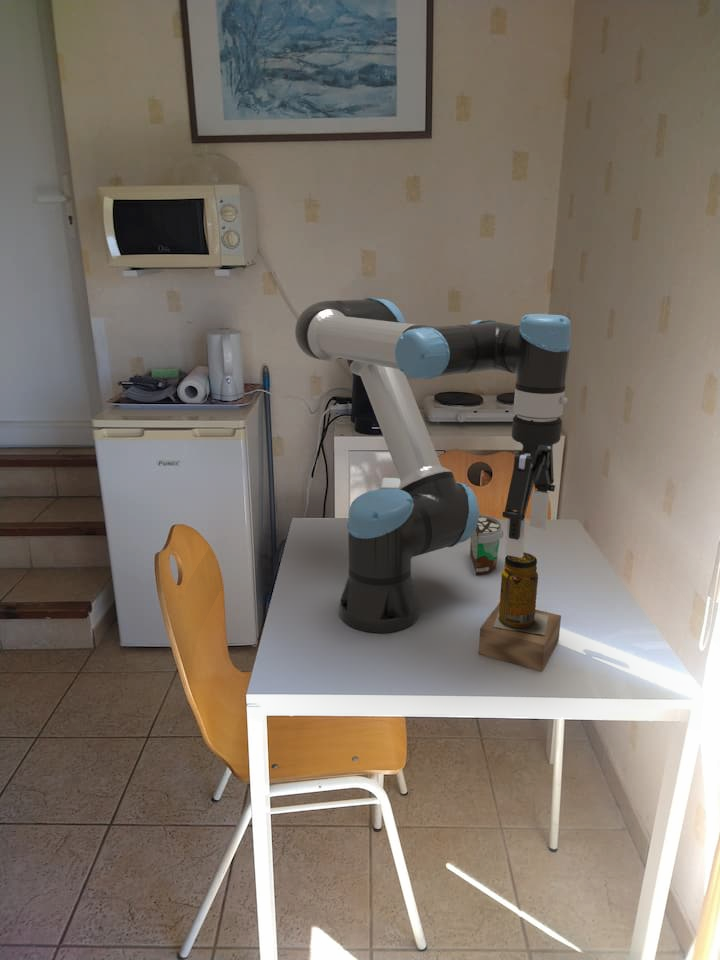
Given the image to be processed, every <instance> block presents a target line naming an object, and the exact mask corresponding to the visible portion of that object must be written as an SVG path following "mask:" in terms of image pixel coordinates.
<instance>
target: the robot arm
mask: <svg viewBox="0 0 720 960" xmlns="http://www.w3.org/2000/svg"><path fill="white" fill-rule="evenodd" d="M571 323H572V322H571V320H570V319H569V318H568V317H567V316H565V315H560V314H548V313H529V314H525V315H524V316H522V317H521V319H520V323H519V324H520V325H519V324H512V323H506V322H500V321H496V320H494V319H493V320H492V319H487V320H485V319H483V320H481V319H475V320H472V321H471V322H469V324H460V325H459V324H457V325H451V326H433V325H423V324H415V323H406V321H405V318H404V316H403V313H402V312H401V310H400V309H399V307H398V306H396V304H394V303H393V302H391V300H388V299H384V298H376V297H375V298H374V297H366V298H362V299H344V300H342V299H341V300H323V301H318V302H315V303H313V304H311V305H309V306H308V307H307V308H305V309H304V310H303V311H302V313H301V314H300V315H299V317H298V319H297V320H296V324H295V328H294V329H295V331H294V333H295V340H296V343H297V344H298V346H299V348H300V350H301V351H302V353H304V354H305V355H306V356H309V357H310V358H313V359H316V360H322V361H327V362H328V361H329V362H330V361H335V360H345V361H346V362H347V364H348V367H349V371H350V372H351V373H352V374H355V375H357V376H359V377H360V378H361V381H362V384H363V387H364V388H365V391H366V394H367V396H368V399H369V402H370V405H371V407H372V410H373V412H374V415H375V417H376V420H377V423H378V425H379V428H380V431H381V434H382V436H383V439H384V441H385V444H386V446H387V449H388V451H389V455H390V458H391V460H392V463H393V464H394V467H395V471H396V473H397V475H398V478H400V481H401V482H400V485H399V487H398V489H386V490H383V489H381V488H380V489H379V488H378V489H374V490H369V491H366V492H365V493H362V494H360V495H359V496H357V497H355V499H353V501H352V502H351V504H350V506H349V511H348V519H347V520H348V521H347V524H346V525H347V531H348V533H347V534H348V537H347V538H348V576H347V580H346V581H345V582H346V583H345V586H344V588H343V591H342V593H341V597H340V600H339V616H340V619H341V620H342V621H343V622H344V623H345V624H346V625H348V626H349V627H352V628H353V629H356V630H359V631H363V632H368V633H378V634H379V633H393V632H397V631H402V630H404V629H407V628H408V627H411V626H412V625H413V624H415V623H416V622H417V620H418V619H419V616H420V601H419V598H418V595H417V591H416V589H415V586H414V582H413V580H412V575H411V574H412V571H411V570H412V558H414V557H417V556H421V555H424V554H428V553H431V552H434V551H438V550H442V549H444V548H453V547H454V546H457V545H458V544H460V543H463V542H466V541H467V540H469V539H471V536H472V535H473V533H474V532H475V530H476V527H477V522H478V520H479V514H480V507H479V502H478V499H477V496H476V495H475V492H474V490H473V488H471V487H469V486H468V485H467V484H465V483H462V482H458V481H456V478H455V476H454V473H453V471H452V470H451V469H448V468H446V467H444V466H442V464H441V462H440V459H439V456H438V454H437V451H436V448H435V447H434V443H433V442H432V439H431V436H430V433H429V431H428V428H427V427H426V423H425V421H424V419H423V416H422V414H421V411H420V408H419V406H418V404H417V401H416V398H415V395H414V393H413V391H412V388H411V386H410V383H409V381H408V378H409V379H414V380H416V379H418V380H419V379H424V380H430V379H433V378H438V377H444V376H445V377H446V376H451V375H459V374H468V373H469V374H470V373H475V372H476V373H477V372H484V371H485V372H487V371H491V370H492V371H501V372H502V371H503V372H507V373H510V374H516V376H515V386H514V387H515V388H514V399H513V411H512V412H513V413H514V414H515V415H514V416H513V417H512V427H511V428H512V429H511V437H512V438H511V439H513V440H514V441H516V442H518V443H519V444H521V445H522V449H521V451H520V452H519V454H517V453H516V454H514V455H515V456H514V458H513V459H514V462H513V470H512V474H511V478H510V479H511V480H510V484H509V488H508V494H507V498H506V502H505V508H504V511H502V513H501V514H502V517H503V518H506V519H507V527H506V537H505V538H506V542H505V551H504V553H505V554H504V555H506V556H507V555H509V556H514V557H518V558H522V557H523V553H524V551H525V541H526V540H525V539H526V527H527V517H526V514H527V513H526V512H527V509H528V506H529V502H530V498H531V505H530V515H529V516H530V518H529V524H528V525H529V526H530V527H533V528H537V529H538V528H539V529H543V530H545V529H546V528H547V521H548V511H549V510H548V509H549V500H550V492H555V490H556V485H554V481H555V478H554V458H553V456H554V454H553V452H554V451H553V447H554V445H555V444H558V443H559V442H560V441H561V434H562V427H563V426H562V425H563V420H562V419H561V418H560V417H561V416H562V415H563V414H564V413H563V412H564V405H566V404H567V403H568V401H569V400H568V398H567V397H565V391H566V380H567V372H568V365H569V359H570V358H569V357H570V349H571V347H572V346H571V345H572V343H571V337H572V335H571V332H572V324H571ZM533 487H534V489H533Z"/></svg>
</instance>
